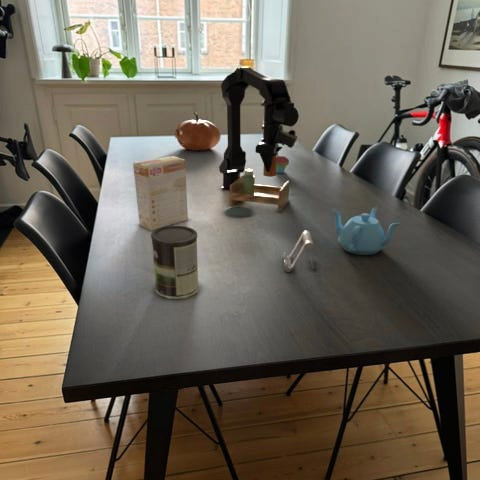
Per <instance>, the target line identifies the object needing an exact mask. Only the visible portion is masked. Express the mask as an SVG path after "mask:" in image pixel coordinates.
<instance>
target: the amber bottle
mask: <svg viewBox="0 0 480 480" xmlns="http://www.w3.org/2000/svg"><path fill="white" fill-rule="evenodd" d="M276 165H277V157H275V155H274V156H273V159H272V164H271V169H270V172H267V171H266V169H265V166H264V165H263V172H262V175H263V176H264V177H269V178H270V177H271V178H272V177H276V176H277V173H276Z"/></svg>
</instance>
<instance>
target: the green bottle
mask: <svg viewBox="0 0 480 480" xmlns="http://www.w3.org/2000/svg"><path fill="white" fill-rule="evenodd" d="M242 176H243V178H242V193H243V194H254V184H256V181H255V180H256V176H255V175H254V169H251V168H247V169H245V168H244V173H243V175H242Z"/></svg>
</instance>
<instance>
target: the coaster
mask: <svg viewBox="0 0 480 480" xmlns="http://www.w3.org/2000/svg"><path fill="white" fill-rule="evenodd" d="M252 213H253V211H252V210H251V208H248V207H245V206H230V207H228V208H226V209H225V214H226V216H229V217H232V218H247V217H249V216H252Z"/></svg>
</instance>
